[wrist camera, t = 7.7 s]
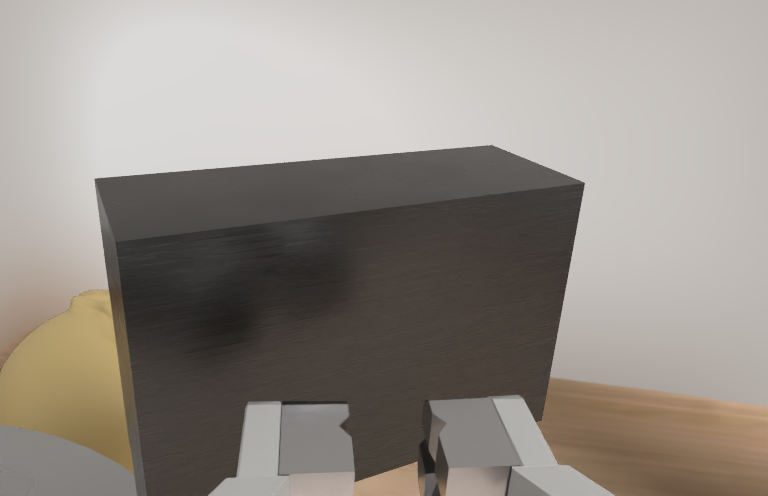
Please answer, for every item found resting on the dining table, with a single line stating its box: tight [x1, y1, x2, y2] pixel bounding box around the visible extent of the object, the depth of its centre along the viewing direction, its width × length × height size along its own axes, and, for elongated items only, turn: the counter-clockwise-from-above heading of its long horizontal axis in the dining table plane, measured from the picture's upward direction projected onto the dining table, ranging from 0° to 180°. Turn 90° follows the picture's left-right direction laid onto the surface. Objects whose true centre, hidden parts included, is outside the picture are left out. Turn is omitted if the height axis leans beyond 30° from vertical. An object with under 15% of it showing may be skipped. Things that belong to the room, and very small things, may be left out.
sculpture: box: [0, 290, 134, 474], centre depth 34 cm, size 12×12×11 cm
